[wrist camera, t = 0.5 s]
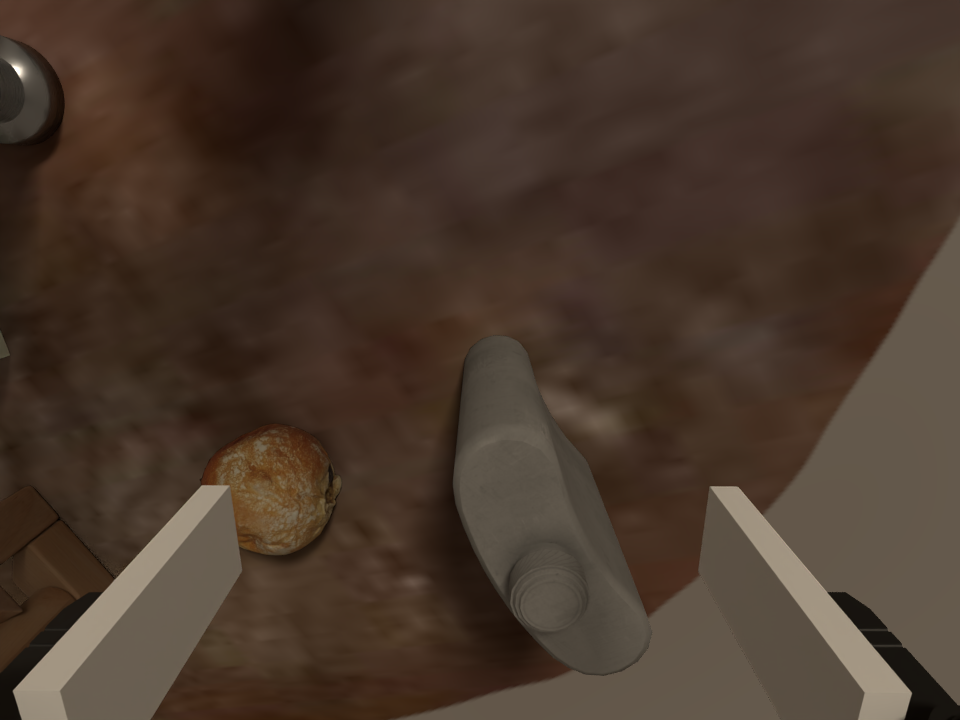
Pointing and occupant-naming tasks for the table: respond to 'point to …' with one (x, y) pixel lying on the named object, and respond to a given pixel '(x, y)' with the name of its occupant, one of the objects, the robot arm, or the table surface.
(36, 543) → the brown multi-part fixture
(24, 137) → the headed peg
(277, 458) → the bread roll
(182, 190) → the table surface
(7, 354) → the keyhole plate
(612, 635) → the flask
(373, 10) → the table surface
